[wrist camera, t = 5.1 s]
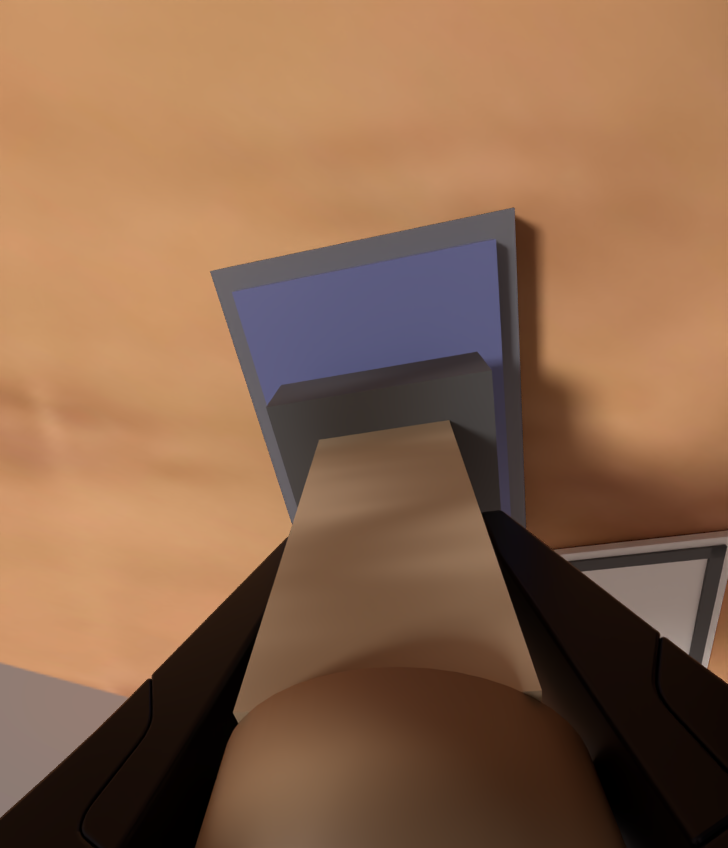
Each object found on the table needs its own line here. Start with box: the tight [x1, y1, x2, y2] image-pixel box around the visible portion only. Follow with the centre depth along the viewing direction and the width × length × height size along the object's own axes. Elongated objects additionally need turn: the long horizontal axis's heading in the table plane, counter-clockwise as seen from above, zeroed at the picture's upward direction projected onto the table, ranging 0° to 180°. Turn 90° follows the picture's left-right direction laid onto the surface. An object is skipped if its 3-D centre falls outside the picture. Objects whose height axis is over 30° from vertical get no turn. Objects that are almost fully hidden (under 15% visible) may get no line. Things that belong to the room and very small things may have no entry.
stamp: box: [195, 352, 626, 848], centre depth 7 cm, size 5×5×9 cm
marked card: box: [554, 530, 728, 668], centre depth 18 cm, size 11×11×1 cm
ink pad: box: [210, 208, 526, 529], centre depth 13 cm, size 8×11×2 cm
